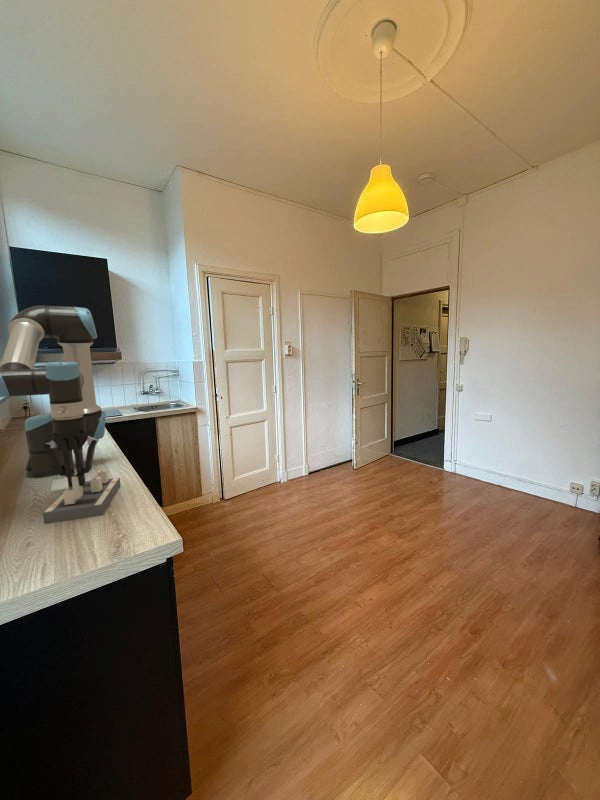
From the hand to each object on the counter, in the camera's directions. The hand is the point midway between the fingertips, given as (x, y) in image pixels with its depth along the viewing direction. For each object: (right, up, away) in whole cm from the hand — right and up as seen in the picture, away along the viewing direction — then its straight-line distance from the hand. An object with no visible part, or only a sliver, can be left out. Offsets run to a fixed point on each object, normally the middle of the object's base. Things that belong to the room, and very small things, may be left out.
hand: (78, 496), depth 92 cm
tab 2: (+1, 0, +7) cm, 7 cm away
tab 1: (-2, -2, 0) cm, 2 cm away
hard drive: (-19, -3, +21) cm, 29 cm away
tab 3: (-2, +1, +14) cm, 14 cm away
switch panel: (-2, -4, +7) cm, 8 cm away
